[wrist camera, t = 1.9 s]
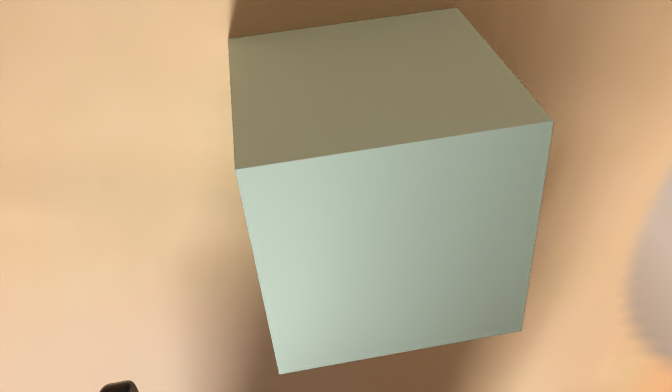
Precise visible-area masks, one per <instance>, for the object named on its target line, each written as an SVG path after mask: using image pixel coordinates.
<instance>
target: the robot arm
mask: <svg viewBox="0 0 672 392" xmlns="http://www.w3.org/2000/svg"><path fill="white" fill-rule="evenodd" d="M100 392H138V389H137V387H136V385H135V384H134V382H132V381H130V380H127V381H122V382H116V383H110V384H107V385H105V386H104V387H103V388H102V389H101V390H100Z"/></svg>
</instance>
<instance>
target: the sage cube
mask: <svg viewBox="0 0 672 392" xmlns="http://www.w3.org/2000/svg"><path fill="white" fill-rule="evenodd" d="M228 48H229V66H230V85H231V104H232V122H233V141H234V160H235V172H236V176H237V181H238V186H239V190H240V195H241V200H242V204H243V209H244V214H245V218H246V223H247V228H248V232H249V237H250V241H251V246H252V251H253V255H254V260H255V265H256V269H257V274H258V279H259V283H260V288H261V292H262V297H263V302H264V306H265V311H266V316H267V320H268V325H269V330H270V334H271V339H272V344H273V348H274V353H275V357H276V362H277V367H278V371H279V374H285V373H290V372H296V371H301V370H307V369H313V368H318V367H324V366H329V365H335V364H340V363H346V362H351V361H357V360H363V359H368V358H374V357H379V356H385V355H390V354H396V353H402V352H407V351H413V350H418V349H424V348H429V347H435V346H440V345H446V344H452V343H457V342H463V341H468V340H474V339H479V338H485V337H490V336H496V335H502V334H507V333H513V332H518V331H521V330H522V324H523V317H524V311H525V304H526V298H527V291H528V285H529V278H530V272H531V265H532V259H533V252H534V246H535V239H536V233H537V226H538V220H539V213H540V207H541V201H542V194H543V188H544V181H545V175H546V168H547V162H548V155H549V149H550V142H551V136H552V129H553V123H554V120H553V119H552V118H551V117H550V116H549V114H548V113H547V112H546V111H545V110H544V109H543V107H542V106H541V105H540V104H539V103H538V102H537V100H536V99H535V98H534V97H533V96H532V95H531V93H530V92H529V91H528V90H527V89H526V88H525V86H524V85H523V84H522V83H521V82H520V80H519V79H518V78H517V77H516V76H515V75H514V73H513V72H512V71H511V70H510V69H509V68H508V66H507V65H506V64H505V63H504V62H503V61H502V59H501V58H500V57H499V56H498V55H497V54H496V52H495V51H494V50H493V49H492V48H491V47H490V45H489V44H488V43H487V42H486V41H485V39H484V38H483V37H482V36H481V35H480V34H479V32H478V31H477V30H476V29H475V28H474V27H473V25H472V24H471V23H470V22H469V21H468V20H467V18H466V17H465V16H464V15H463V14H462V13H461V11H460V10H459V9H458V8H450V9H443V10H435V11H428V12H421V13H413V14H406V15H399V16H392V17H384V18H377V19H370V20H362V21H355V22H348V23H341V24H333V25H326V26H319V27H312V28H304V29H297V30H290V31H282V32H275V33H268V34H261V35H253V36H246V37H239V38H231V39H228Z"/></svg>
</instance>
